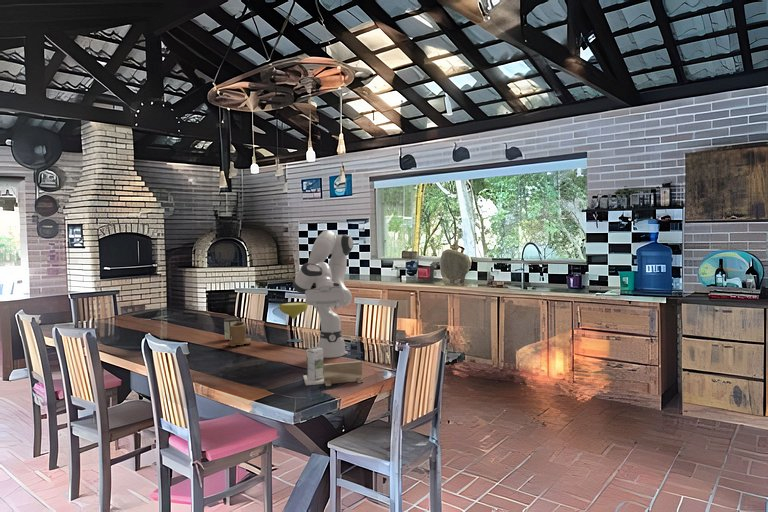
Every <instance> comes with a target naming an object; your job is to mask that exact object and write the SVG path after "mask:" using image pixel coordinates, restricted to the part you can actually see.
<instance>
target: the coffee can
mask: <svg viewBox="0 0 768 512" xmlns="http://www.w3.org/2000/svg"><path fill="white" fill-rule="evenodd" d="M236 322H241V321H240V317H227V318H224V319H223V327H224V329H223V330H224V340H225V339H232V337H231V335H230V329H229V328H230V325H231V324H232V323H236Z"/></svg>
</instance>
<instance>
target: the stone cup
mask: <svg viewBox="0 0 768 512" xmlns="http://www.w3.org/2000/svg"><path fill="white" fill-rule="evenodd" d="M247 328H248V327H247V324H246V322H244V321H240V322H236V323H232V324H231V325H230V328H229V329H230V335H231V337H232V341H228V342H227V346H229V345H230V347H237V346H236V345H240V346H245V345H244V344H246V345H250V343H251V344H252V339H251V337H249V338H248V337H247V338H246V334H247Z"/></svg>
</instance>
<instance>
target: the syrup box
mask: <svg viewBox="0 0 768 512" xmlns="http://www.w3.org/2000/svg"><path fill="white" fill-rule="evenodd" d="M323 364H324V357H323V349H322V348H319V347H317V346H313V347H310V348H306V375H307V379H311V380H318V379H321V378H324V369H323Z"/></svg>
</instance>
